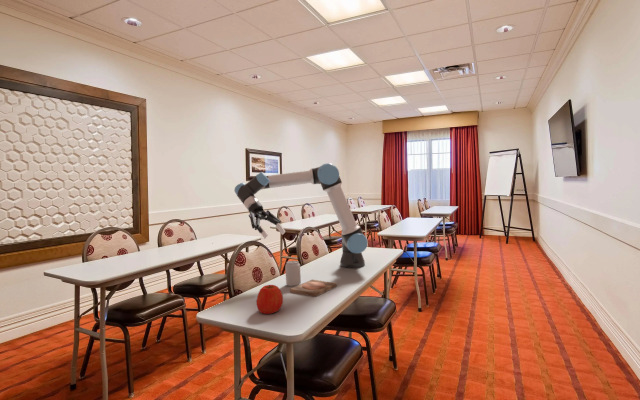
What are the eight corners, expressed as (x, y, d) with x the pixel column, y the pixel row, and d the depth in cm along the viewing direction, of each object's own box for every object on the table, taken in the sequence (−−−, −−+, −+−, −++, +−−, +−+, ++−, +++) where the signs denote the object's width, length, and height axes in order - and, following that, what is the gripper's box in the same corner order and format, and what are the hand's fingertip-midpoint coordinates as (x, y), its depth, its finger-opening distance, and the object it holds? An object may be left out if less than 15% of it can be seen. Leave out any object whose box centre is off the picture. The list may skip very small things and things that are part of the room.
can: (283, 285, 174) (282, 262, 173) (294, 282, 179) (292, 259, 179) (293, 288, 169) (292, 263, 168) (304, 284, 174) (302, 261, 174)
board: (312, 282, 177) (312, 278, 177) (336, 286, 169) (336, 282, 169) (290, 291, 162) (289, 288, 162) (315, 296, 154) (315, 292, 154)
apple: (286, 313, 135) (285, 286, 135) (259, 317, 132) (258, 290, 131) (280, 304, 145) (279, 279, 145) (254, 308, 142) (253, 283, 141)
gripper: (266, 209, 199) (287, 236, 191) (232, 213, 179) (254, 243, 171) (272, 200, 196) (294, 227, 188) (239, 202, 175) (261, 233, 167)
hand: (275, 234), depth 179 cm, fingers open, 13 cm apart
